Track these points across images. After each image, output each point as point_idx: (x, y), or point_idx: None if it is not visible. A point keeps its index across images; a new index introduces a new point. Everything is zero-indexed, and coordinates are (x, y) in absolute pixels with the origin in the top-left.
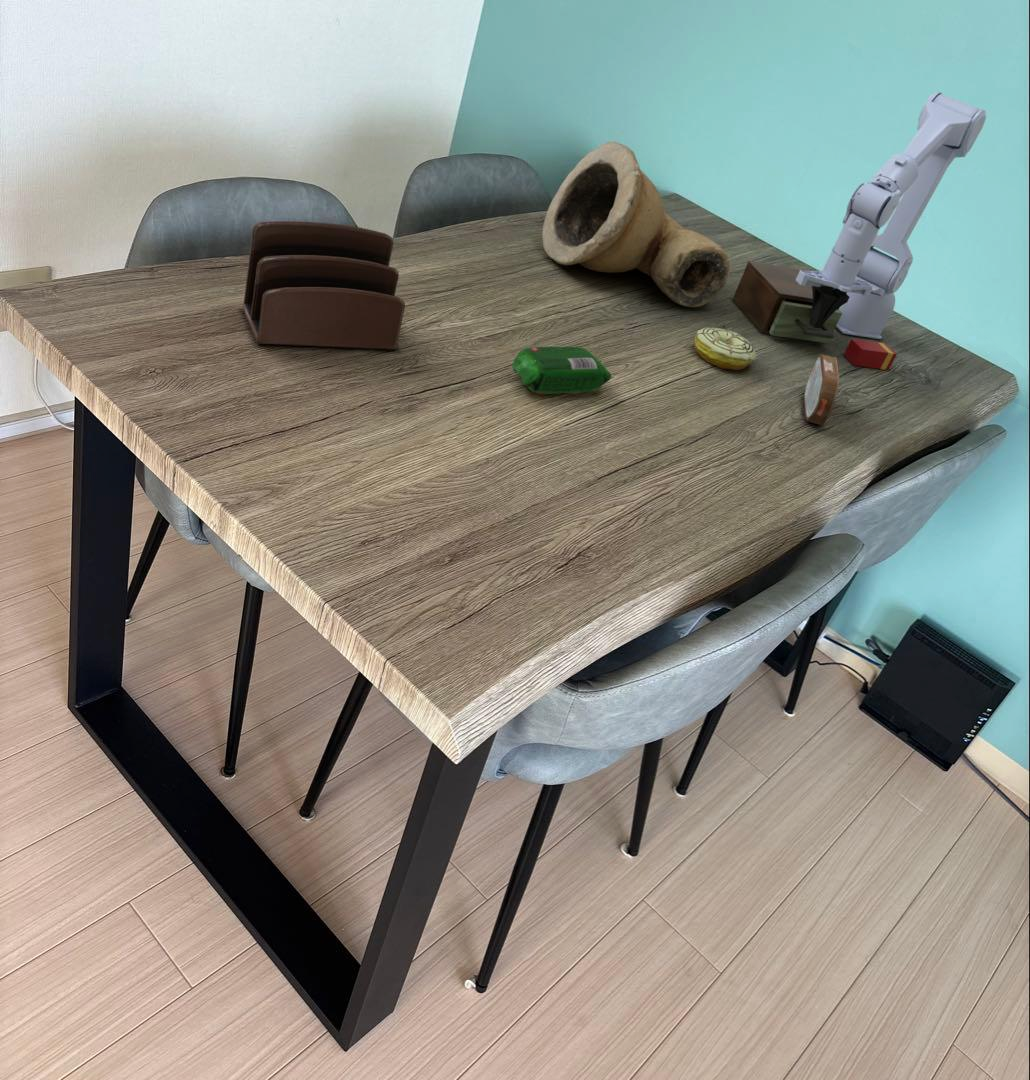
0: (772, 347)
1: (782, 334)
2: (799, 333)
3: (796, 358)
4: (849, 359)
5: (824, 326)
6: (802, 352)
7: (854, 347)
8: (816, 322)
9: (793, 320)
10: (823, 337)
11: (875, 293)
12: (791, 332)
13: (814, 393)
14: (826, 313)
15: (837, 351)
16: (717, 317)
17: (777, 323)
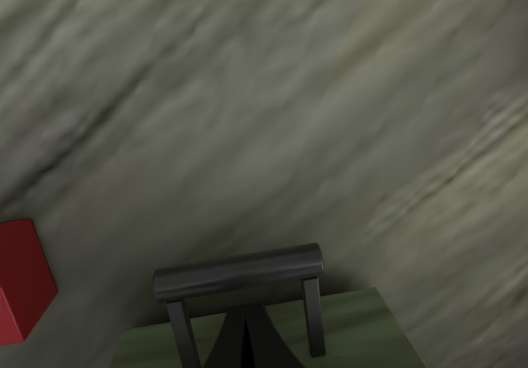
0: (383, 221)
1: (336, 298)
2: None
3: (307, 170)
4: (41, 255)
5: (183, 348)
6: (255, 235)
7: (17, 290)
8: (268, 316)
9: (331, 348)
10: (150, 339)
11: None
12: (303, 314)
13: None
14: (241, 362)
15: (78, 310)
16: (509, 350)
17: (393, 318)
